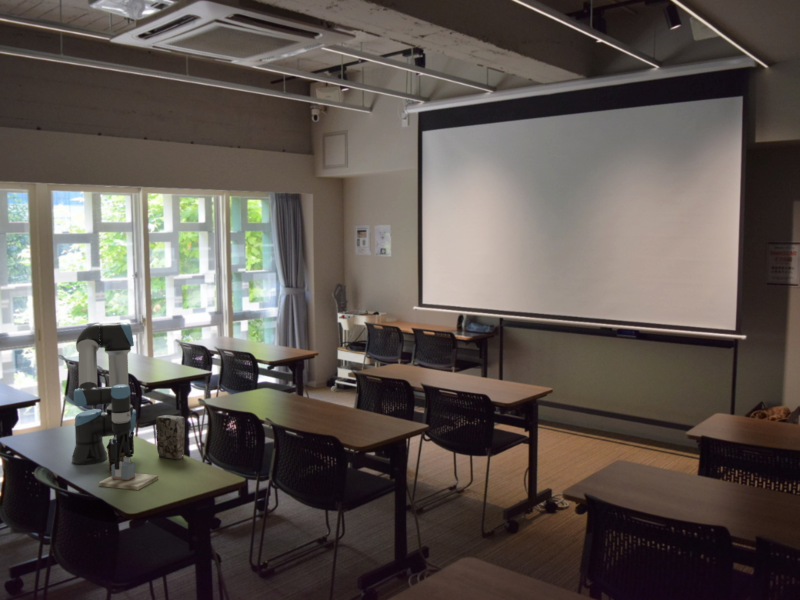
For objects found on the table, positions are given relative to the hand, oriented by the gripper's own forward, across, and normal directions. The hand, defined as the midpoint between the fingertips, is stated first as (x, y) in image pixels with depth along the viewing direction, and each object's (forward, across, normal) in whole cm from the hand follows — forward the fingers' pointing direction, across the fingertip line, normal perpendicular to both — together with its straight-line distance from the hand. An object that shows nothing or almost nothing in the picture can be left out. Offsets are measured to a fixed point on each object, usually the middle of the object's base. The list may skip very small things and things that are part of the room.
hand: (122, 474), depth 289 cm
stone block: (+4, +35, 0) cm, 35 cm away
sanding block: (+2, 0, 0) cm, 2 cm away
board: (+3, 0, -3) cm, 4 cm away
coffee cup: (+4, +13, +13) cm, 19 cm away
